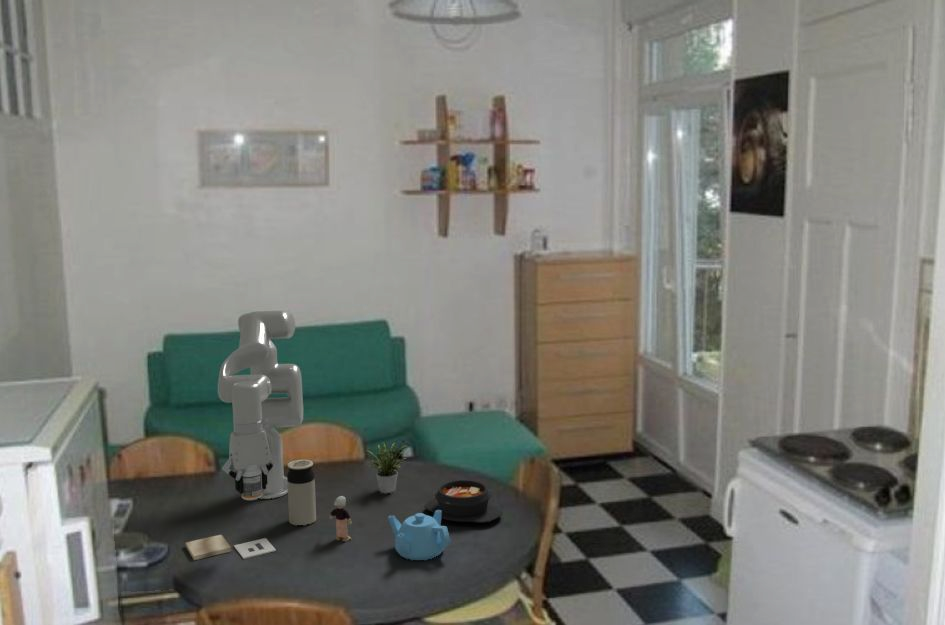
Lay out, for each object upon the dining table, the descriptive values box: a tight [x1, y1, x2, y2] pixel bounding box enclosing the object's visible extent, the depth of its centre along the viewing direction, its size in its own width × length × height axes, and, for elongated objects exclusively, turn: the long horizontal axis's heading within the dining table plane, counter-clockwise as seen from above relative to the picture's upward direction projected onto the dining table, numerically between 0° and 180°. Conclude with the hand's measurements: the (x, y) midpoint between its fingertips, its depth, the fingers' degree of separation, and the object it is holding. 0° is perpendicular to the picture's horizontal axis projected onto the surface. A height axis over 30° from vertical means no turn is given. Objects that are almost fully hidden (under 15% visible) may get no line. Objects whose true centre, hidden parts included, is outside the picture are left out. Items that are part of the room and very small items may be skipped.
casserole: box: [424, 479, 503, 524], centre depth 254 cm, size 25×19×8 cm
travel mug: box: [286, 459, 317, 526], centre depth 249 cm, size 8×8×18 cm
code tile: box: [233, 537, 277, 560], centre depth 232 cm, size 9×9×1 cm
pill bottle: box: [240, 464, 263, 501], centre depth 229 cm, size 6×6×10 cm
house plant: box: [365, 442, 409, 492], centre depth 272 cm, size 14×14×16 cm
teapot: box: [387, 510, 452, 561], centre depth 229 cm, size 15×15×11 cm
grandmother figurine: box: [329, 495, 353, 542], centre depth 237 cm, size 8×4×13 cm, turn 71°
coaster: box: [184, 534, 232, 561], centre depth 232 cm, size 10×10×1 cm
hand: (251, 489), depth 229 cm, fingers closed on pill bottle, 5 cm apart
